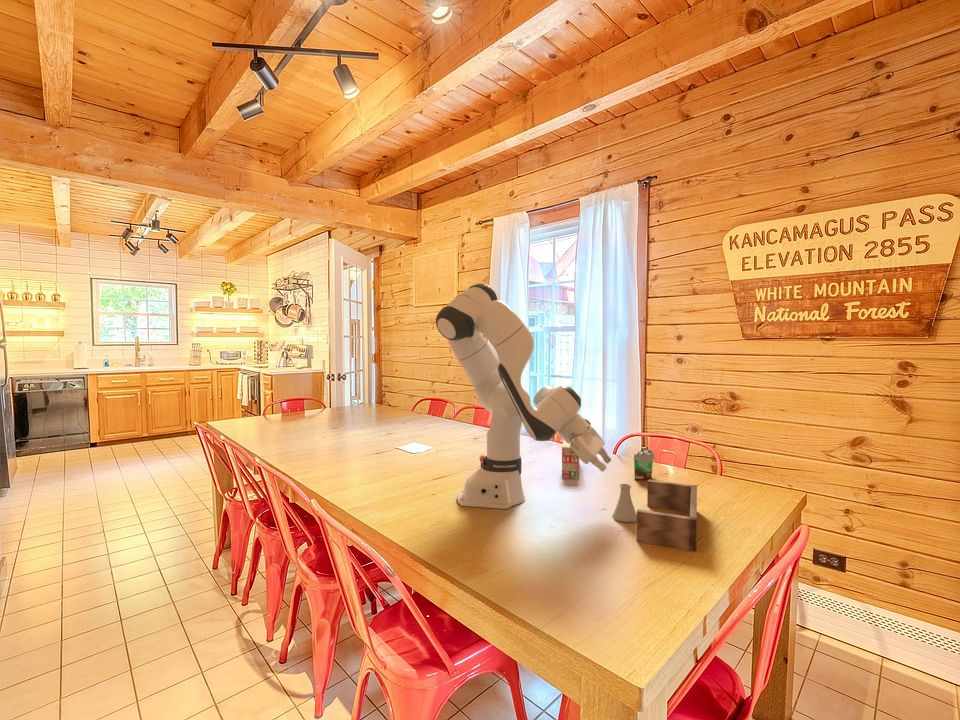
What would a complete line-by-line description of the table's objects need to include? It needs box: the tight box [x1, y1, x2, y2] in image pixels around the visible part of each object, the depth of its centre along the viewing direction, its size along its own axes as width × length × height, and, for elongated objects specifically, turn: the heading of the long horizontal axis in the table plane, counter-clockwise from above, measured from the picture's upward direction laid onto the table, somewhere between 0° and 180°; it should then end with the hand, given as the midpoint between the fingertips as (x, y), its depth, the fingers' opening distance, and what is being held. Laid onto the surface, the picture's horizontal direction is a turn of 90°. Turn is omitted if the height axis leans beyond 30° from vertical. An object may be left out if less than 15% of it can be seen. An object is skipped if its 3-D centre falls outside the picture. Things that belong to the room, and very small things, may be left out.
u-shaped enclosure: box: [636, 479, 698, 552], centre depth 128 cm, size 14×29×8 cm, turn 154°
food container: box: [633, 447, 656, 482], centre depth 172 cm, size 12×6×10 cm, turn 148°
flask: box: [612, 483, 637, 523], centre depth 133 cm, size 7×7×10 cm
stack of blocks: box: [561, 439, 580, 480], centre depth 182 cm, size 21×6×12 cm, turn 167°
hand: (607, 465), depth 136 cm, fingers open, 8 cm apart
